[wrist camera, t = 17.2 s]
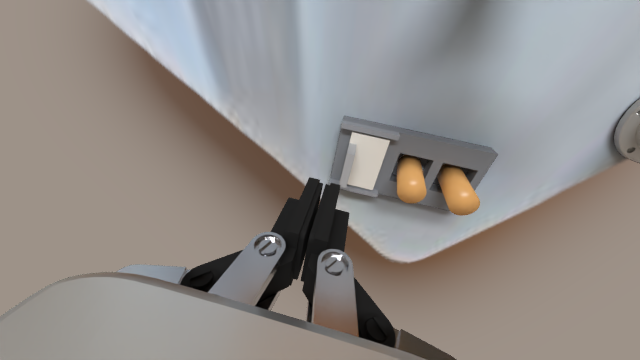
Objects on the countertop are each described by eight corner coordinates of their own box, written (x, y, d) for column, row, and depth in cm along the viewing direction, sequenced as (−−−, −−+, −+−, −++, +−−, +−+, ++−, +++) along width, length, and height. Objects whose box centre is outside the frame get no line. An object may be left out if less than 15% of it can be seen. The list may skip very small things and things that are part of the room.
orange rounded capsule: (419, 152, 39) (425, 178, 32) (421, 172, 41) (427, 202, 34) (395, 156, 41) (395, 181, 33) (398, 175, 43) (398, 204, 35)
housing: (491, 147, 37) (502, 158, 34) (455, 205, 44) (461, 218, 40) (344, 115, 39) (341, 122, 36) (331, 175, 45) (328, 185, 42)
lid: (389, 138, 37) (391, 151, 32) (372, 187, 42) (372, 204, 38) (352, 130, 37) (349, 142, 33) (340, 179, 42) (336, 195, 38)
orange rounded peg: (441, 160, 40) (454, 190, 32) (465, 165, 39) (485, 196, 32) (432, 180, 42) (443, 212, 34) (456, 184, 41) (472, 217, 34)
